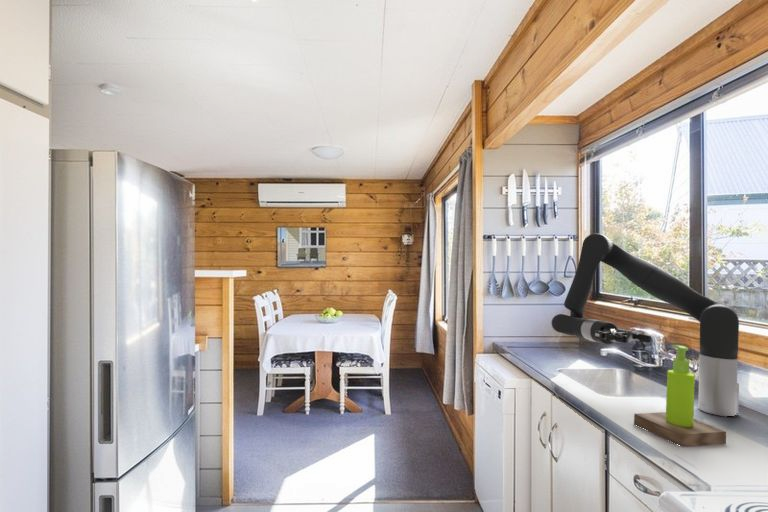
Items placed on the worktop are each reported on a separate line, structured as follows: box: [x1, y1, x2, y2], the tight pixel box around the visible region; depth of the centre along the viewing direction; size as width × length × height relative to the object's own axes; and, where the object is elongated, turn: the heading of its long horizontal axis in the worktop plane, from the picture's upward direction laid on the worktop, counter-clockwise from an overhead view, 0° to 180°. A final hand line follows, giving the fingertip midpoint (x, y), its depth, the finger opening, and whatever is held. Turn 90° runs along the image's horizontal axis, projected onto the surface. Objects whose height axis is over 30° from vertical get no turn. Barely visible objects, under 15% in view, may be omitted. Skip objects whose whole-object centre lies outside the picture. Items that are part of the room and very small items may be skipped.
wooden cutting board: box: [633, 411, 727, 447], centre depth 109 cm, size 14×14×3 cm
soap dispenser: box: [665, 344, 696, 427], centre depth 109 cm, size 6×7×20 cm
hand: (638, 339), depth 125 cm, fingers open, 8 cm apart
